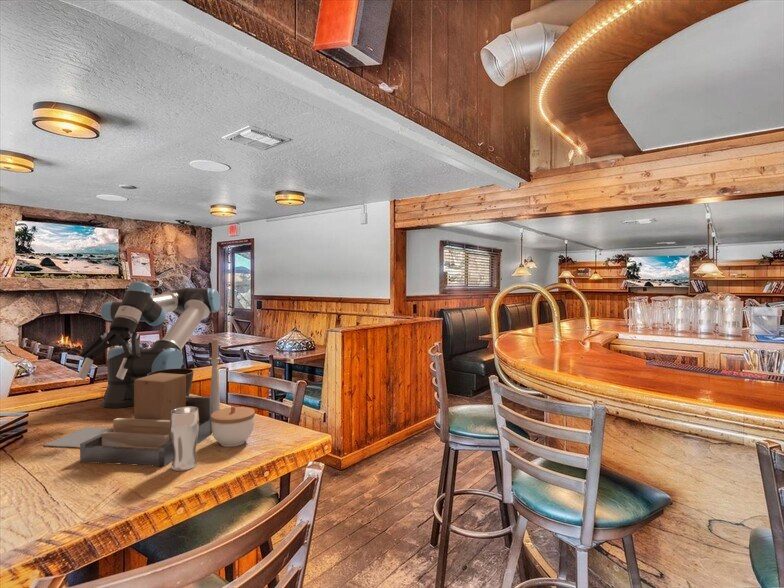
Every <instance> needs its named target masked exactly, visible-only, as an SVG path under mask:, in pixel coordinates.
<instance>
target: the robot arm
mask: <svg viewBox="0 0 784 588" xmlns="http://www.w3.org/2000/svg"><path fill="white" fill-rule="evenodd" d="M152 292H153V289H152V286H150V285H149V284H148V283H145V282H143V281H132V282H131V283H130V284H129V286H128V287H127V289H126V290H125V292H124V293H125V294H124V296H123V298H122V301H121V300H120V301H115V300H112V301H107V302H104V303H103V304H102V305H101V308H100V315H101V317H102V319H103V320H105V321H110V322H111V323H110V324H109V331H108V332H107V333H106V332H103V331H100V332H98V334H97V336H96V337H95V339H93V340H92V341H91V343H89V345H87V347H85V348H84V349H83V350H82V351H81V352H80V353H79V357H82V358H83V359H82V362H81V364H80V370H79V371H78V374H77V377H78V378H80V379H82V380H86V379H87V377H88V374H89V372H90V370H91V367H92V366H93V364H94V358H96V357H98V356H99V355H101V353H103V352H104V351H105V350H107V349H109V348H110V349H109V350H108V352H107V359H106V361H107V363H106V364H107V387H106V389H105V393H104V396H103V398H102V404H101V406H102V408H107V409H120V408H121V409H122V408H130V407H134V381H135V380H136V379H139V378H142V377H146V376H147V374H149V373H151V372H155V371H159V370H166V369H180V368H181V369H182V366H183V362H184V356H183V351H182V349H183V348H184V347H185V345H186V343H187V342H188V340H189V339H190V337H191V336H192V335H193V333H194V332H195V330H196V329H197V327H198V326H199V324H200V323H201V321H202V320H205V319H208V317H209V316H210V314H211V313H213V314H215V313H218V312H219V311H220V308H221V296H220V293H219V292H218V290H217V289H215V288H211V287H210V288H209V287H208V288H200V287H199V288H198V287H195V288H194V287H182V288H177V289H173V290H168V291H164V292H162V293H160V294H157V295H152ZM168 312H169V313H170V312H182V313H180V315H179V317H178V318H177V319H176V320H175V322H174V323H173V324H172V325H171V327H170V328H169V330H168V331H167V332H166V333H165V335H164V336H163V337H162V339H157V340H156V341H154V343H153V344H152V345H151V347H149V348H148V347H147V348H145V347H143V345H142V344H141V343H140V338H141V335H140V334H139V333H138V332H136V329H137V327H138V324H139V323H140V322H145V323H146V324H148V325H149V326H152V327H156V326H160V325H161V324H163V323H164V322H165V320H166V317H167V313H168ZM129 340H131V344H130V343H129Z"/></svg>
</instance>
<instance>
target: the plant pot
mask: <svg viewBox="0 0 784 588" xmlns="http://www.w3.org/2000/svg"><path fill="white" fill-rule="evenodd" d="M194 372H195V370H194V369H191V368H182V367H181V368H180V369H166V370H159V371H155V372H151V373H149V374H147V376H150V375H153V374H157V373H170V374H184V375H186V396H190V394H191V393H190V392H191V390H192V384H193V378H194Z"/></svg>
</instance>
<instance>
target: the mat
mask: <svg viewBox="0 0 784 588" xmlns="http://www.w3.org/2000/svg"><path fill="white" fill-rule="evenodd" d="M111 429H113V427H112V428H107V427H89V426H87V427H83V428H81V429H79V430H75V431H73V432H71V433H69V434H67V435H64V436H61V437H59V438H56V439H54V440H51V441H50V442H47V443H45V444H43V445H42V446H43V447H47V446H60V447H59V448H67V447H80V444H81V443H83V442H85V441H87V440H89V439H92V438H94V437H96V436H98V435H100V434H102V433H104V432H107V431H109V430H111Z"/></svg>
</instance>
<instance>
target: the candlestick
mask: <svg viewBox="0 0 784 588" xmlns="http://www.w3.org/2000/svg"><path fill="white" fill-rule="evenodd" d="M209 360H210V364H211V366H212V368H211V379H210V395H209V397H212V413H213V412H215V411H218V410H221V403H220V402H221V401H220V400H221V399H220V384H219V383H220V382H219V380H220V379H219V368H218V365H219V364H220V360H221V357H219V338H212V339H211V357H209Z"/></svg>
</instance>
